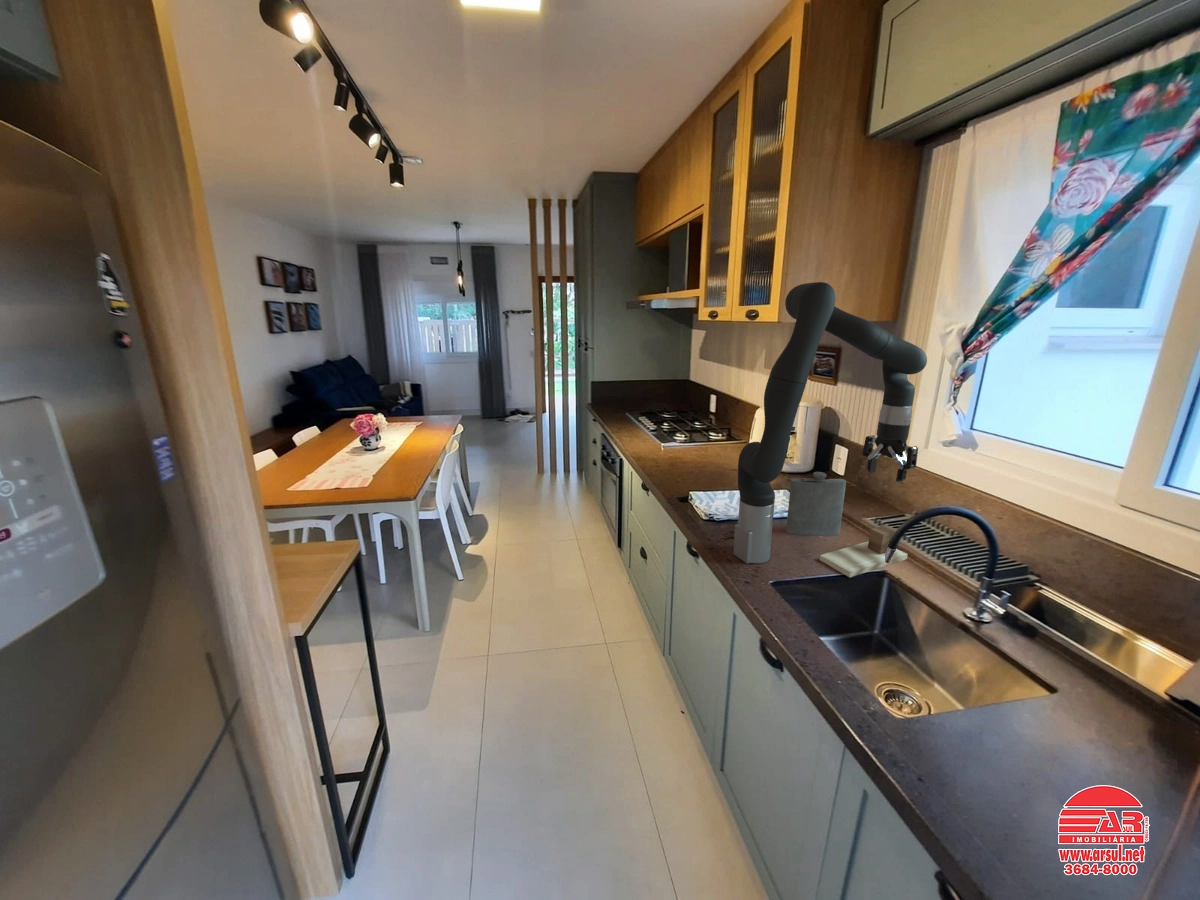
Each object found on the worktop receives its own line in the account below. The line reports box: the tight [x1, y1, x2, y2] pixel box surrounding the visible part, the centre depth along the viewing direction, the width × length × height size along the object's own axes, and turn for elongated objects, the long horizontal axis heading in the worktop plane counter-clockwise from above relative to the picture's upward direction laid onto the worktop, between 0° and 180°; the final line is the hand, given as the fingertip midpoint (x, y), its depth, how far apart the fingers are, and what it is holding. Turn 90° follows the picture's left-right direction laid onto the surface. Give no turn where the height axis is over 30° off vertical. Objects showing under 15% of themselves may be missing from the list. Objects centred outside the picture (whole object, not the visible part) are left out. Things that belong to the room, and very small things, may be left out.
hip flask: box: [785, 471, 847, 537], centre depth 149 cm, size 16×4×20 cm, turn 84°
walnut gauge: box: [868, 524, 898, 554], centre depth 137 cm, size 6×4×6 cm, turn 113°
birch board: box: [819, 540, 908, 578], centre depth 136 cm, size 22×10×2 cm, turn 113°
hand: (885, 476), depth 137 cm, fingers open, 8 cm apart
